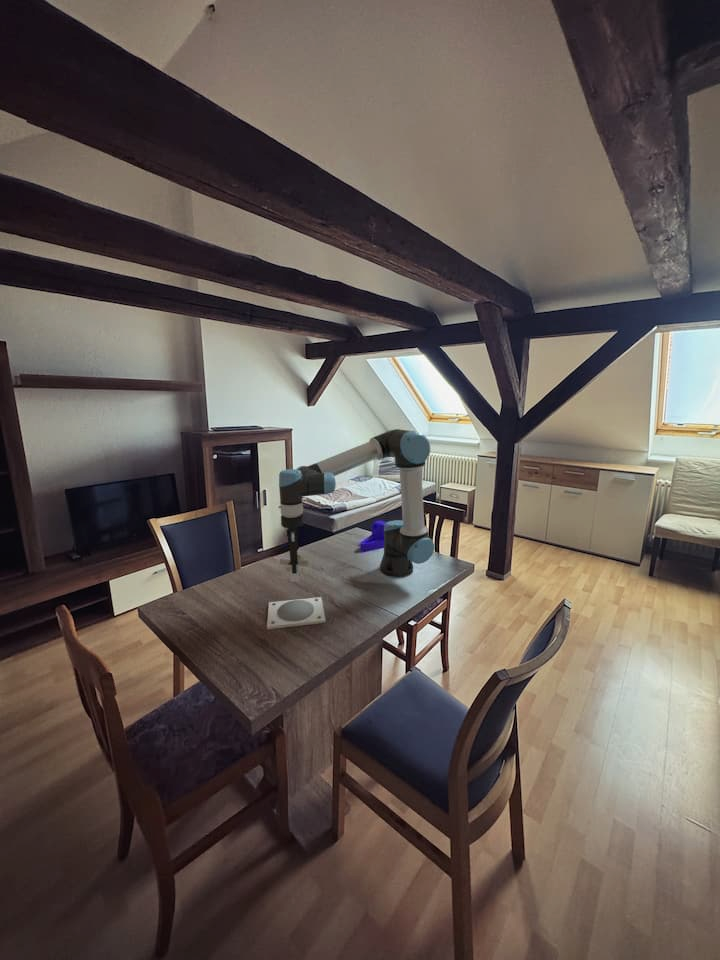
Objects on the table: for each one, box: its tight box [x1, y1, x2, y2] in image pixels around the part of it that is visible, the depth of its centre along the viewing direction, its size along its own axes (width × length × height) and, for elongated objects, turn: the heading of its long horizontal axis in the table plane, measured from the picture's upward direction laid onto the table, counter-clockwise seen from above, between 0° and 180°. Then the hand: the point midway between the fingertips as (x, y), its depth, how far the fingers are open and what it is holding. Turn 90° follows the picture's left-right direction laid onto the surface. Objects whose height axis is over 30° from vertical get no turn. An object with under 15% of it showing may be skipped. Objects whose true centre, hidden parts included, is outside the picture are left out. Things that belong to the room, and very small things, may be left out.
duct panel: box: [266, 596, 327, 630], centre depth 139 cm, size 20×16×2 cm
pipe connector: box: [279, 554, 309, 572], centre depth 135 cm, size 10×10×10 cm
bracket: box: [359, 520, 388, 553], centre depth 199 cm, size 18×11×12 cm, turn 135°
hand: (294, 574), depth 136 cm, fingers closed on pipe connector, 10 cm apart
